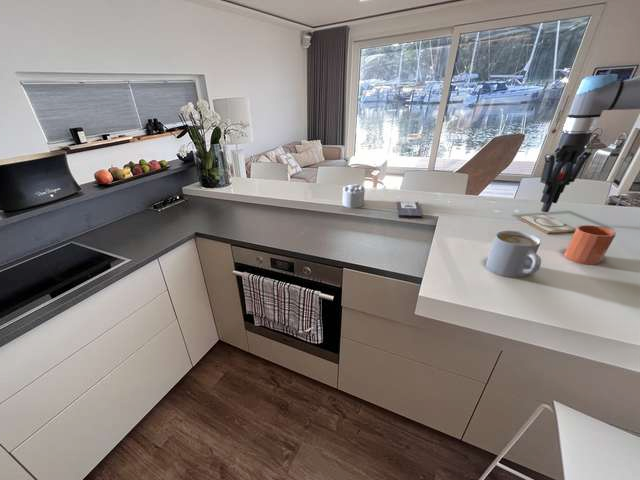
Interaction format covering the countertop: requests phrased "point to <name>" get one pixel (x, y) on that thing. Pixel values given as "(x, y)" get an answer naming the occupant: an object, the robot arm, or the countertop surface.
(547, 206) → the marker
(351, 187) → the lumpy-topped squat cylinder
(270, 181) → the countertop surface
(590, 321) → the countertop surface
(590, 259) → the pen cup
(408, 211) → the chocolate bar
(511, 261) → the coffee mug
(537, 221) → the sketch pad
